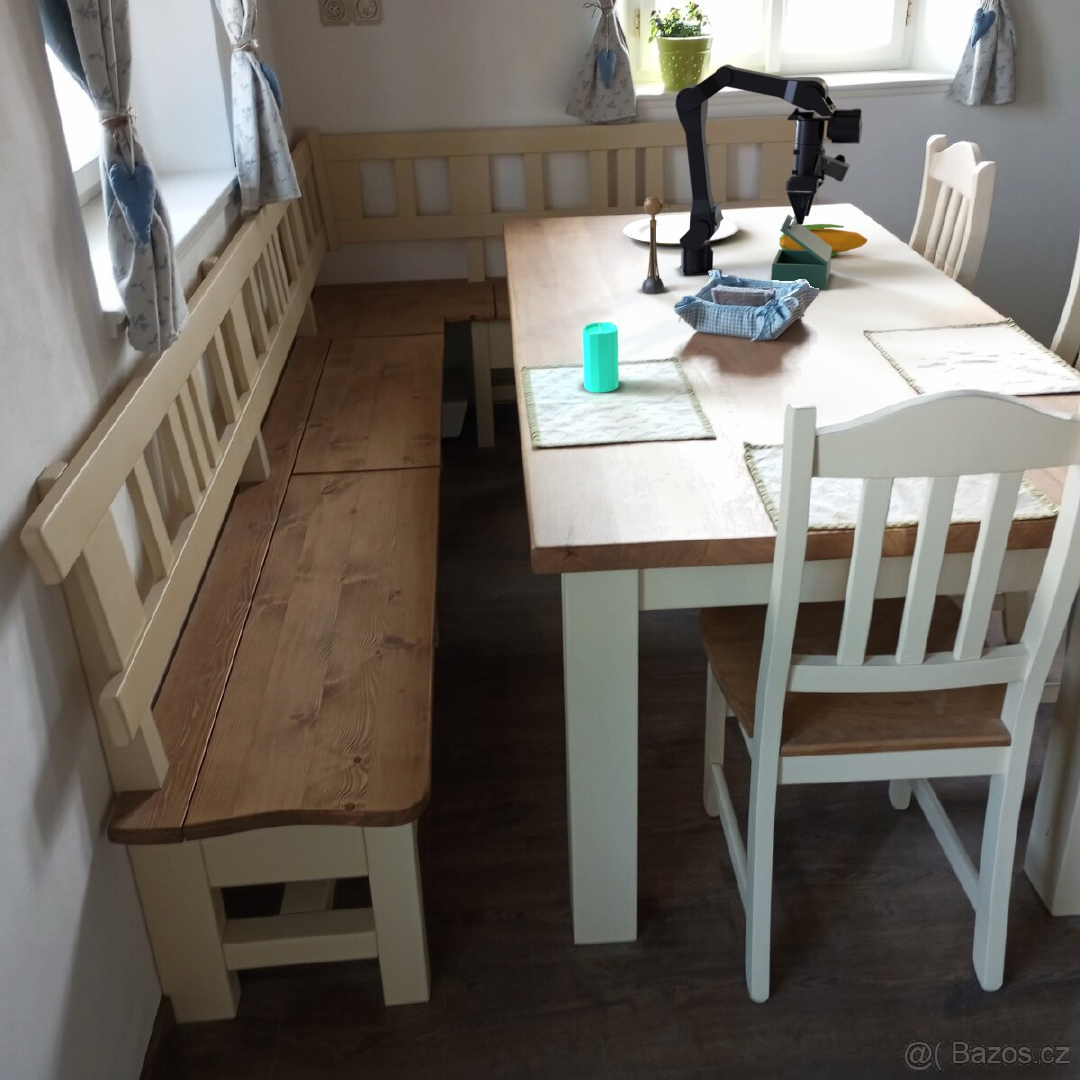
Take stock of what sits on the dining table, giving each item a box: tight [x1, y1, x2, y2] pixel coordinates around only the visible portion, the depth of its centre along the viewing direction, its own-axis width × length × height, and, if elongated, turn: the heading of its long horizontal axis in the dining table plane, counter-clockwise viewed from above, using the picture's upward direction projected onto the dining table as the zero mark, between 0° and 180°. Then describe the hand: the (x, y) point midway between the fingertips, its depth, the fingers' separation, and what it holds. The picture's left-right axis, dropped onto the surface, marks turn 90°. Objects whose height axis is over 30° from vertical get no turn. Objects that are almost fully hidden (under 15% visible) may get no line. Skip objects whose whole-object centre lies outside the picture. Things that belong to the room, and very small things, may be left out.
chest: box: [770, 248, 832, 291], centre depth 237 cm, size 11×12×5 cm
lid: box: [779, 214, 832, 265], centre depth 233 cm, size 12×12×4 cm
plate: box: [623, 214, 739, 247], centre depth 279 cm, size 29×29×2 cm
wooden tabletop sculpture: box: [641, 196, 671, 295], centre depth 233 cm, size 6×5×20 cm
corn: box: [779, 223, 868, 257], centre depth 254 cm, size 7×8×20 cm
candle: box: [582, 318, 620, 394], centre depth 186 cm, size 6×6×12 cm
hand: (803, 220), depth 235 cm, fingers open, 9 cm apart
